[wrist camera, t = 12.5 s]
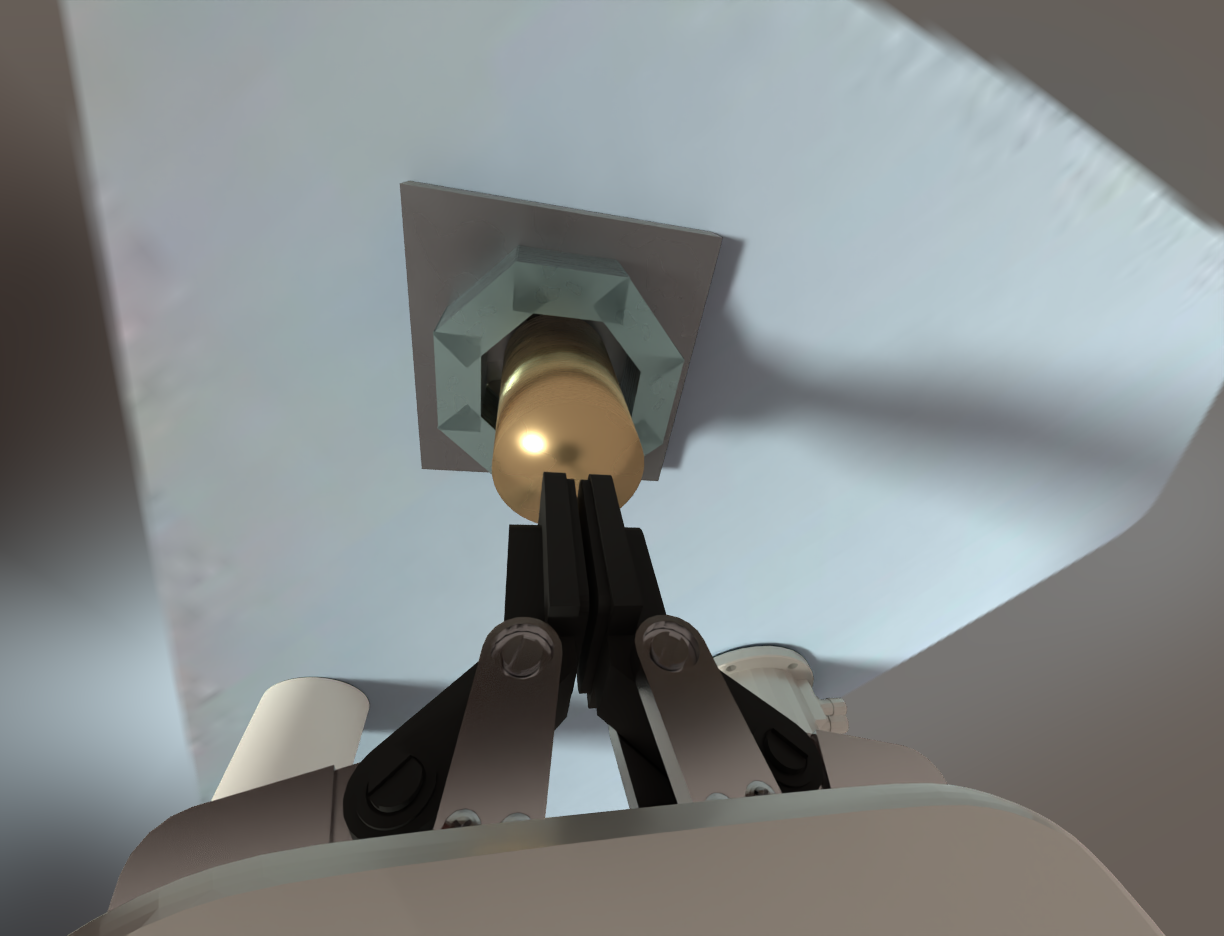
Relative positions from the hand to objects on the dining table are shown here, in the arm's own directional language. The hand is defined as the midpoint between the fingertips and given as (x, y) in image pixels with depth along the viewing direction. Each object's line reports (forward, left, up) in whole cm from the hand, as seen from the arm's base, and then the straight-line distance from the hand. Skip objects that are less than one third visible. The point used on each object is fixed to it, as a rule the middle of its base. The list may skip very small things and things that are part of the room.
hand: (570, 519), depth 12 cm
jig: (0, 0, -12) cm, 12 cm away
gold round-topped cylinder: (0, 0, -11) cm, 11 cm away
